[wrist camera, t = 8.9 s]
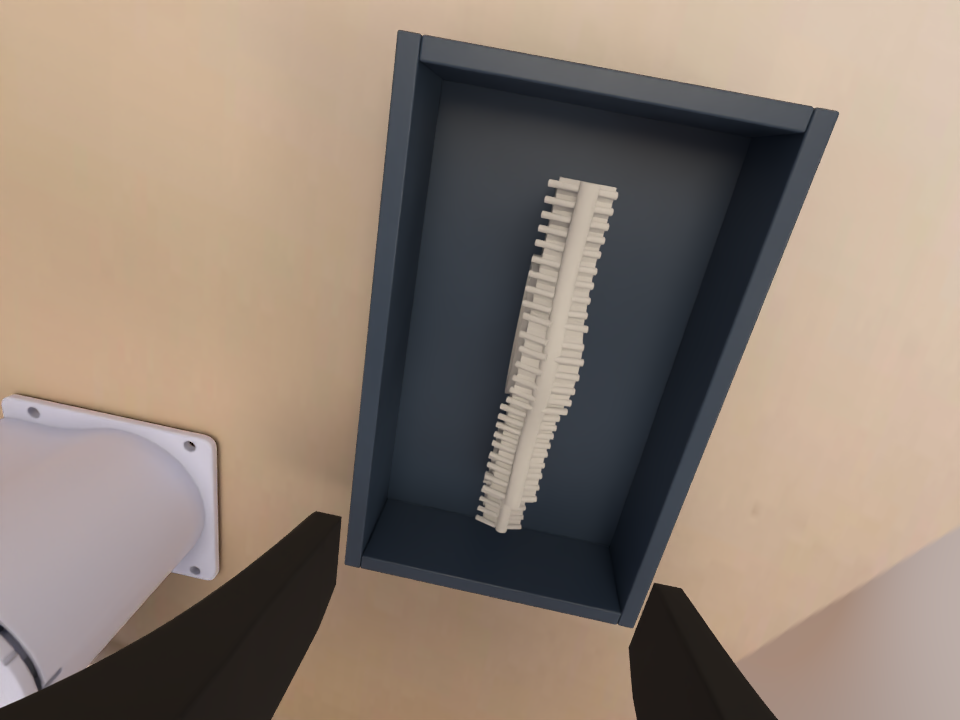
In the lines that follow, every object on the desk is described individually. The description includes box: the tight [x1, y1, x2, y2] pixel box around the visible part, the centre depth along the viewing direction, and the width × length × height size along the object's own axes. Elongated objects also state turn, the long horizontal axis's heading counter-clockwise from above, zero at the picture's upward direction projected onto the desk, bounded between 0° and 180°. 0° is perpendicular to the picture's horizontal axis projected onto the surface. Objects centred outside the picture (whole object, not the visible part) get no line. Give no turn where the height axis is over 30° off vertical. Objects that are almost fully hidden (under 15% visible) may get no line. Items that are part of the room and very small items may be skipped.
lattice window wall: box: [475, 177, 618, 533], centre depth 16 cm, size 12×2×6 cm, turn 170°
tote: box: [345, 30, 839, 628], centre depth 18 cm, size 11×17×4 cm, turn 170°
